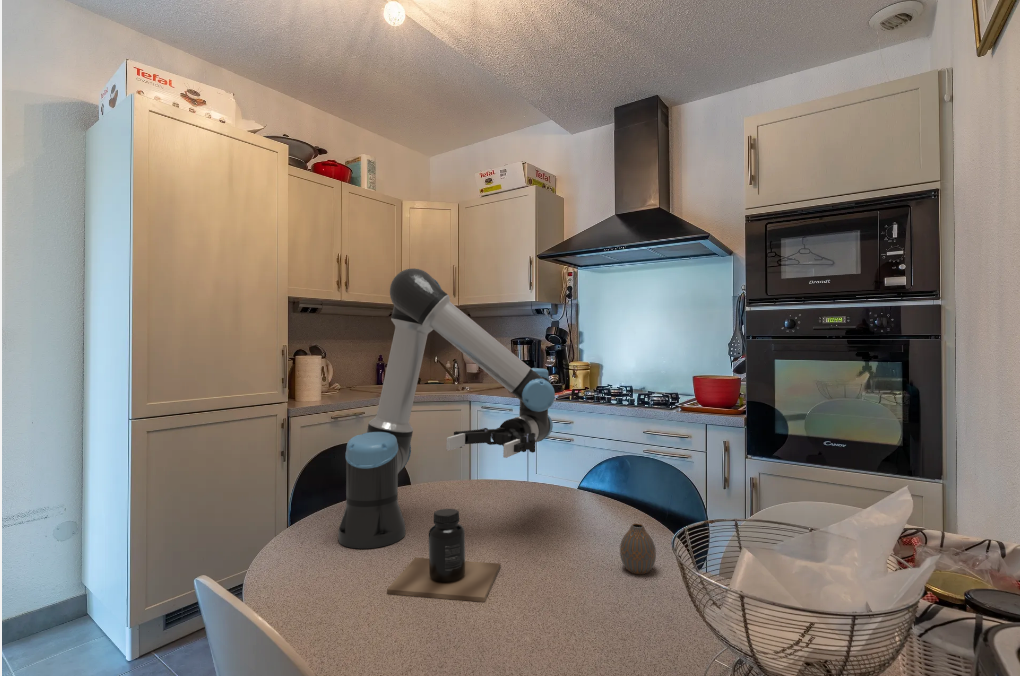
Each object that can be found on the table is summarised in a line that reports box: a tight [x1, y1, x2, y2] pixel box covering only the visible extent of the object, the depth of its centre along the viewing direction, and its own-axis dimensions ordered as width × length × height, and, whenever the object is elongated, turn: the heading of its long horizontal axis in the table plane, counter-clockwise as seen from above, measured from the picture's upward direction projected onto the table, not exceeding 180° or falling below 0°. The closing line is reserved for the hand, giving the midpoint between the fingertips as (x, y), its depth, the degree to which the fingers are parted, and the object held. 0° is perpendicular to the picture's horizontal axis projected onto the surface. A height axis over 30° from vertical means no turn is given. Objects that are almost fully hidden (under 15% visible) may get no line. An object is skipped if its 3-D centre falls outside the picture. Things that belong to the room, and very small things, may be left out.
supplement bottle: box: [428, 508, 466, 583], centre depth 96 cm, size 7×7×12 cm
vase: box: [619, 522, 657, 575], centre depth 100 cm, size 7×7×9 cm
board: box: [386, 557, 502, 603], centre depth 96 cm, size 18×14×1 cm
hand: (475, 447), depth 106 cm, fingers open, 13 cm apart
